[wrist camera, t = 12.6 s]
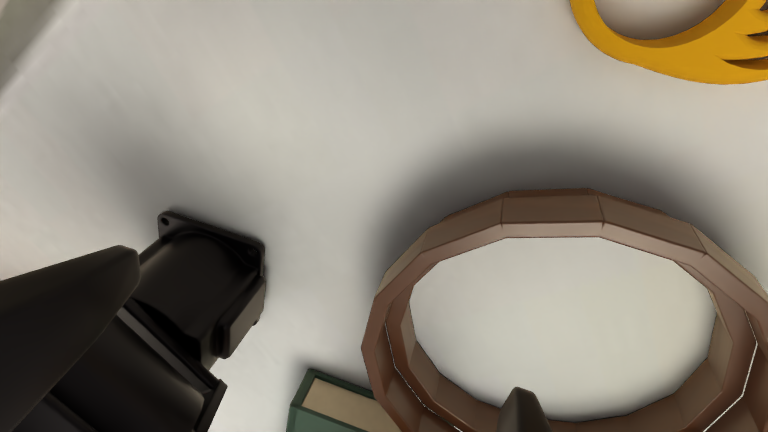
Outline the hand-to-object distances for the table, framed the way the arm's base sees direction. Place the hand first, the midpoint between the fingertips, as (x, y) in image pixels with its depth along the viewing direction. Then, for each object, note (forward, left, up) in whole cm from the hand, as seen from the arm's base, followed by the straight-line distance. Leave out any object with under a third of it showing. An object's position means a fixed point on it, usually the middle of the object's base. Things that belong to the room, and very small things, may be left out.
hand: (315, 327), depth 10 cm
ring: (+9, -8, -12) cm, 17 cm away
